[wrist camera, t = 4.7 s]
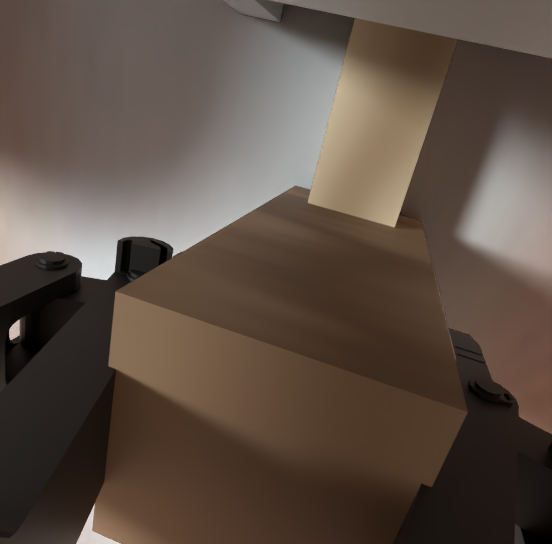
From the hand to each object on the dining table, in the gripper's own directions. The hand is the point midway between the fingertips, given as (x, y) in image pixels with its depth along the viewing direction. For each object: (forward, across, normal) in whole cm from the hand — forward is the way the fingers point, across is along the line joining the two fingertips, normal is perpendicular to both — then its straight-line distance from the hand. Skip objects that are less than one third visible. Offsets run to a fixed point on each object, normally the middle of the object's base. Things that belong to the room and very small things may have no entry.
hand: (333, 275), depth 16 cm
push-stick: (+2, 0, +8) cm, 8 cm away
